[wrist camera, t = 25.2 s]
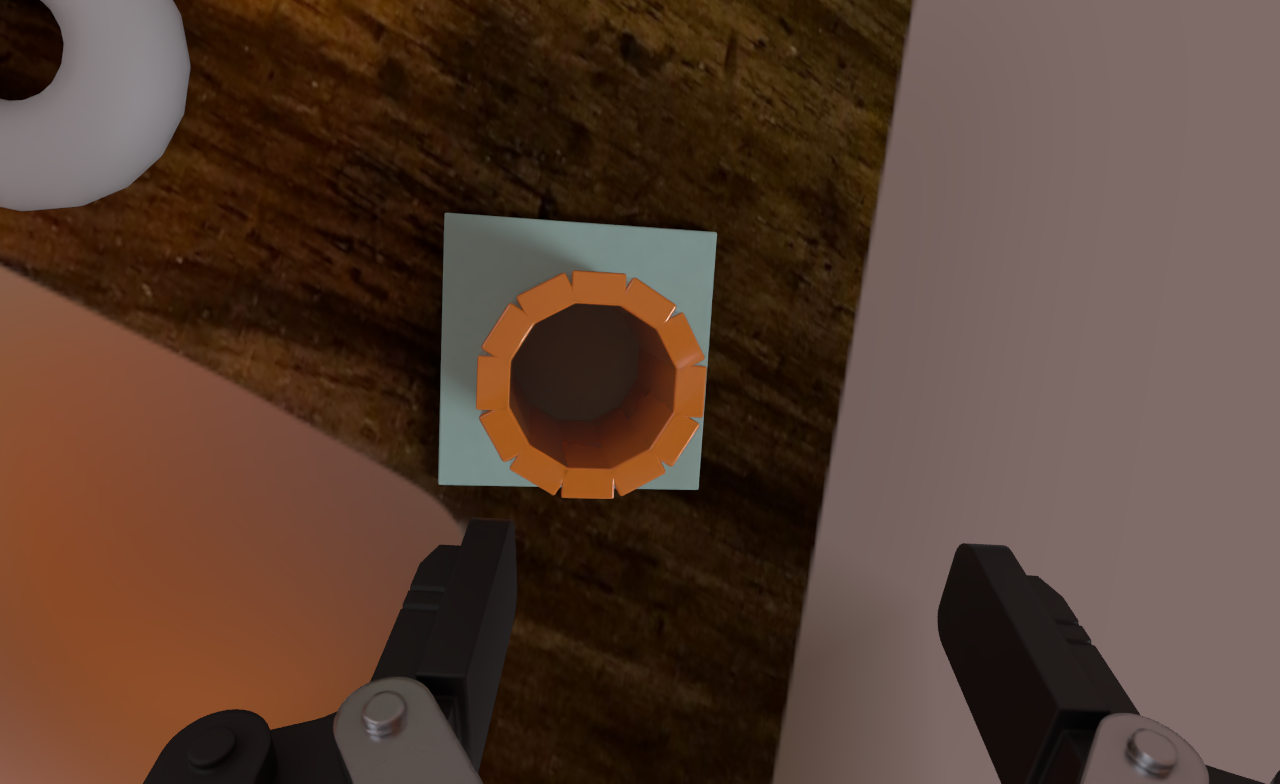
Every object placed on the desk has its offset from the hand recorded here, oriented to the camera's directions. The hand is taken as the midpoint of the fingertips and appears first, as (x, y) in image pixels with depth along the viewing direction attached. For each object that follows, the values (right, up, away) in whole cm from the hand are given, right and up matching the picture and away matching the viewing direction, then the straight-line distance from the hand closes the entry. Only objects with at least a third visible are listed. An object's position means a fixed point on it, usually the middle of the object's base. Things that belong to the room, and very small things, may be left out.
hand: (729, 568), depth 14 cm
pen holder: (-4, +4, +15) cm, 16 cm away
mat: (-4, +5, +15) cm, 16 cm away
